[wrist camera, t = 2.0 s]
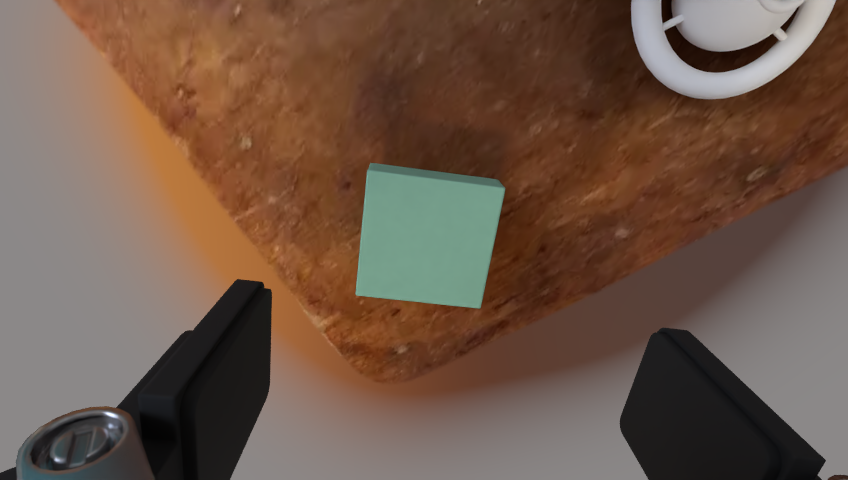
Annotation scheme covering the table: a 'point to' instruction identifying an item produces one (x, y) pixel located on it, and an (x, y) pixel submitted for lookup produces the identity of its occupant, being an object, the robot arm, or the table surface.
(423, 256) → the plug pad
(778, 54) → the ring around a ball
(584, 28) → the table surface
